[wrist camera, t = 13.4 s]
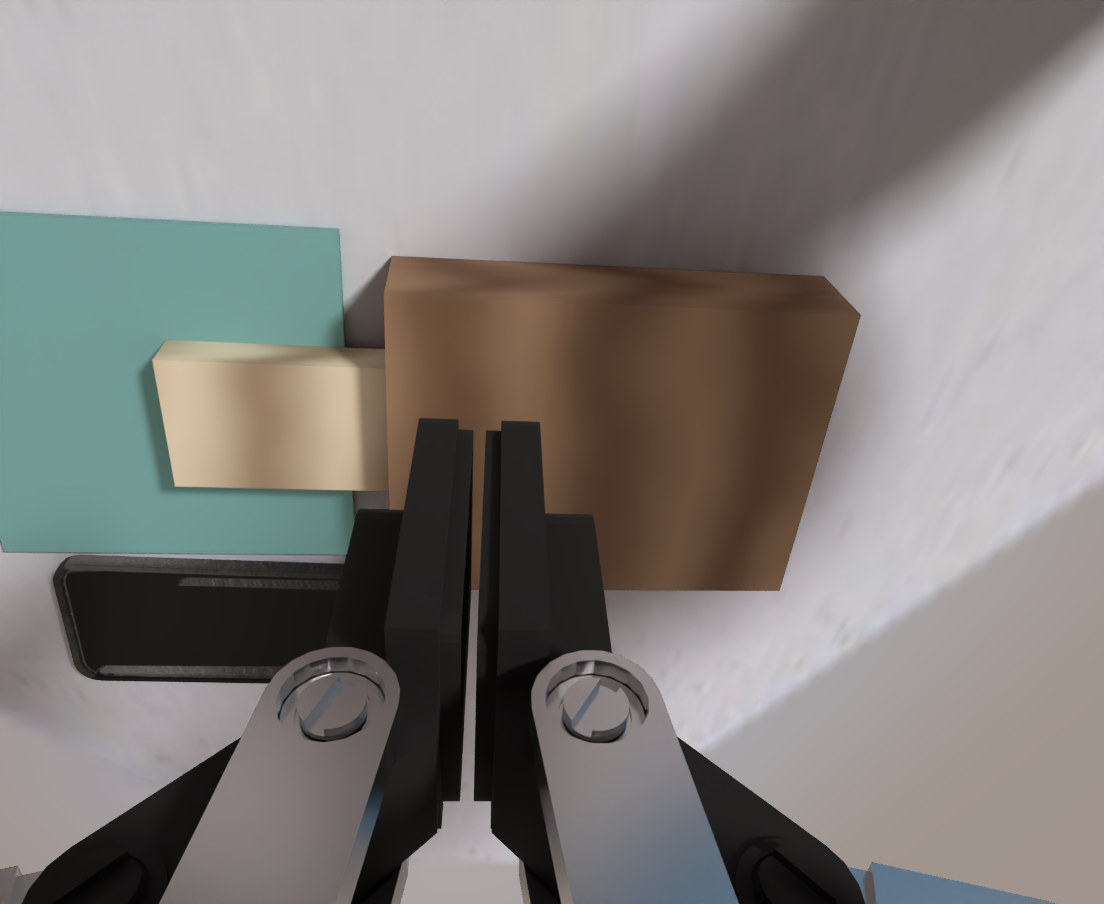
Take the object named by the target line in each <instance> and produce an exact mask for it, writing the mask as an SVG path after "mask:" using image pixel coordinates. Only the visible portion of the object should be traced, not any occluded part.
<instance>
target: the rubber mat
mask: <svg viewBox="0 0 1104 904" xmlns="http://www.w3.org/2000/svg"><path fill="white" fill-rule="evenodd" d="M165 340H177V341H201V342H225V343H249V344H274V345H298V346H322V347H346V346H345V328H344V310H343V291H342V273H341V254H340V236H339V229H332V228H312V227H293V226H273V225H253V224H233V223H214V222H194V221H174V220H154V219H135V218H115V217H95V216H76V215H56V214H36V213H16V212H0V541H1V544H2V547H3V550H4V552H85V553H208V554H332V555H347V551H348V547H349V543H350V538H351V534H352V530H353V526H354V522H355V512H354V494H353V490H312V489H267V488H222V487H176V486H175V483H174V478H173V472H172V467H171V461H170V456H169V450H168V445H167V439H166V434H165V428H164V422H163V417H162V411H161V406H160V400H159V395H158V389H157V384H156V378H155V373H154V367H153V362H152V359H153V358H154V357H155V355H156V354H157V352H158V351H159V349H160V348H161V346H162V345H163V343H164V342H165Z"/></svg>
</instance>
